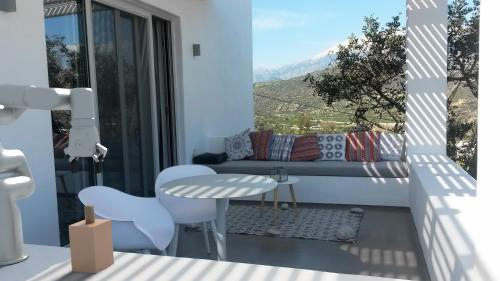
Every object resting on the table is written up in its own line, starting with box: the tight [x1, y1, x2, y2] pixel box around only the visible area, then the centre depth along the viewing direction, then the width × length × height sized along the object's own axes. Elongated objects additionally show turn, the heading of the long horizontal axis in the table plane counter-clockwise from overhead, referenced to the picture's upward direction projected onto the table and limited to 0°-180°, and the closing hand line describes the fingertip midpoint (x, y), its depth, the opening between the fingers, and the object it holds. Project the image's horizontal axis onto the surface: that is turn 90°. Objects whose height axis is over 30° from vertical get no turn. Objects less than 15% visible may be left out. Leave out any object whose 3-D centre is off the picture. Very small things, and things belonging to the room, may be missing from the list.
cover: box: [68, 204, 115, 274], centre depth 154 cm, size 10×10×22 cm
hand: (86, 172), depth 153 cm, fingers open, 9 cm apart
